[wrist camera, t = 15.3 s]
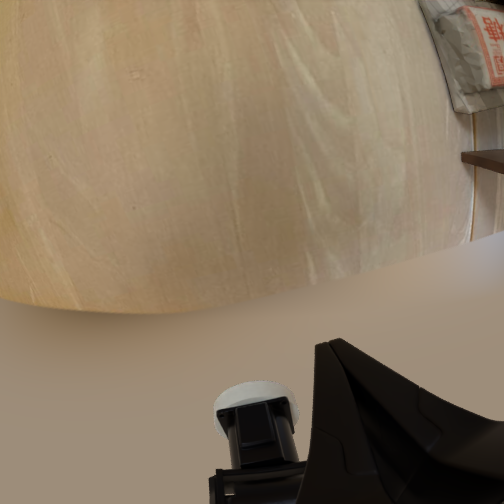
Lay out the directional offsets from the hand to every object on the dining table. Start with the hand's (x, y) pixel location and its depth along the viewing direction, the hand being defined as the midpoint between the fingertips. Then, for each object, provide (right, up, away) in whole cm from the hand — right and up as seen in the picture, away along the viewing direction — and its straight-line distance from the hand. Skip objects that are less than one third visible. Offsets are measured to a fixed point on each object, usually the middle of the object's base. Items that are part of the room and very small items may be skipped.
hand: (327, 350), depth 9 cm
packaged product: (+20, +21, +7) cm, 30 cm away
